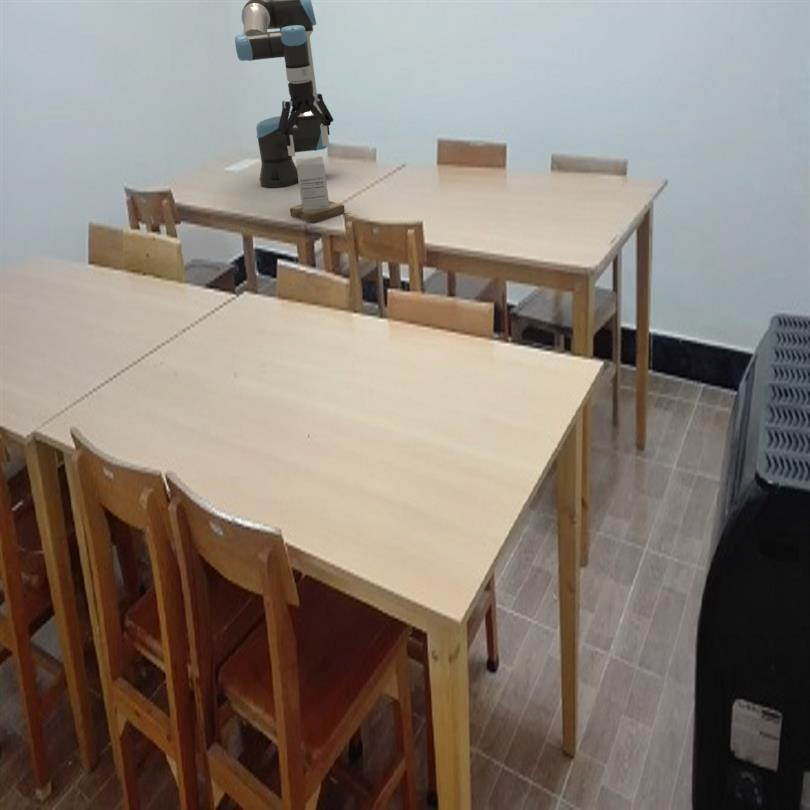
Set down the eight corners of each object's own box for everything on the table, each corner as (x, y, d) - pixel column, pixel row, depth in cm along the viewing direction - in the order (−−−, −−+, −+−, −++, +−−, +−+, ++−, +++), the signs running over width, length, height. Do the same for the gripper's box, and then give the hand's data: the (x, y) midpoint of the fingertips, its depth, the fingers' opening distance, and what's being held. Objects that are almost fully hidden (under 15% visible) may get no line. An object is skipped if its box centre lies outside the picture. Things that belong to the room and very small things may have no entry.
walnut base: (290, 216, 273) (289, 207, 272) (321, 206, 280) (320, 197, 279) (313, 223, 264) (312, 214, 263) (345, 213, 272) (343, 204, 270)
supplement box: (301, 203, 274) (295, 158, 267) (328, 200, 275) (322, 155, 267) (302, 211, 267) (295, 165, 259) (329, 208, 267) (323, 162, 260)
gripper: (273, 89, 242) (283, 161, 253) (339, 74, 255) (346, 143, 266) (259, 87, 247) (270, 158, 258) (324, 72, 260) (332, 140, 271)
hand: (309, 150), depth 262 cm, fingers open, 13 cm apart
